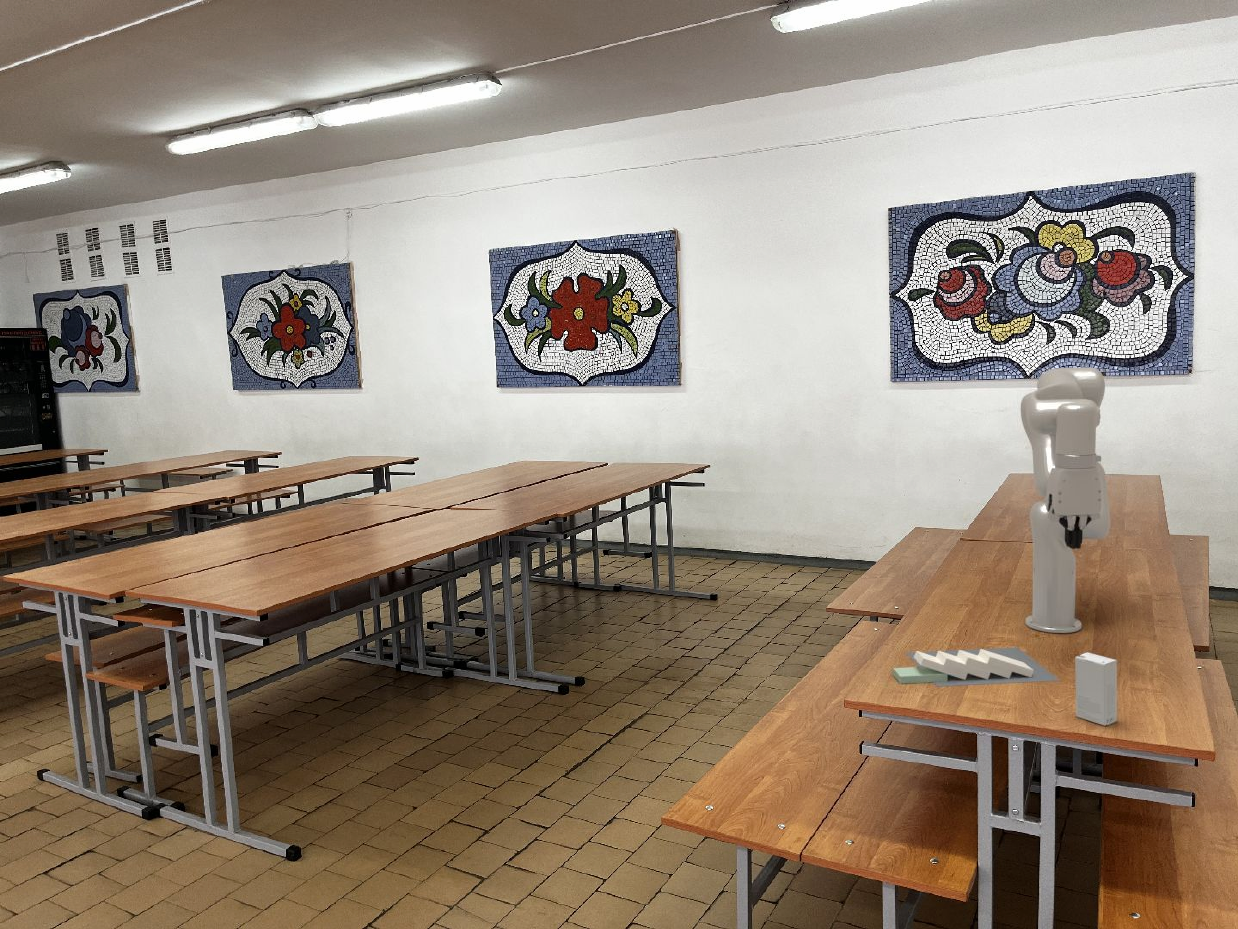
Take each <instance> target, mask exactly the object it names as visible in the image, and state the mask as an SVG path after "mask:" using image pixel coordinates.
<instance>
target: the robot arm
mask: <svg viewBox="0 0 1238 929" xmlns="http://www.w3.org/2000/svg"><path fill="white" fill-rule="evenodd" d="M1105 388H1106V383H1105V378H1104V374H1102V372H1101V371H1100V370H1099V369H1097V368H1095V367H1090V366H1089V367H1088V366H1087V367H1056V368H1051V369H1048V370H1046V371H1044V372H1043V373H1042V374H1040V376H1039V378H1038V379H1037V383H1036V390H1034V391H1032V392H1029V393H1027V394H1025V395H1024V396H1023V397H1022V399H1021V402H1020V418H1021V423H1022V426H1023V429H1024V431H1025V434H1026V437H1027V439H1028V441H1029V443H1030V445H1031V451H1032V466H1033V467H1032V468H1033V480H1034V487H1035V490H1036V492H1037V494H1038V495H1039V496H1041V497H1044V498H1045V499H1043V500H1039V501H1037V502H1036V503H1034V504H1033V505H1032V506H1031V508H1030V511H1029V522H1030V528H1031V535H1032V537H1031V538H1032V551H1033V553H1032V558H1033V559H1032V566H1033V567H1032V613H1031V615H1028V616H1027V617H1025V625H1026V626H1027V627H1028V628H1030V629H1033V630H1036V631H1038V632H1039V631H1040V632H1045V633H1053V634H1070V633H1074V632H1078V631H1079V630H1081V629H1082V622H1081V621H1080V620H1079V619H1078V618H1075V617H1076V614H1075V612H1076V574H1077V571H1076V570H1077V566H1076V565H1077V559H1076V555H1075V553H1074V551H1073V550H1076V549H1077V550H1078V549H1082V544H1083V540H1102V539H1105V538H1107V536H1108V535H1109V533H1110V530H1111V515H1110V505H1109V494H1108V486H1107V483H1108V482H1107V476H1106V471H1105V469H1104V467H1103V465H1102V464H1101V462H1102V456H1101V455H1097V453H1096V443H1097V442H1096V440H1097V439H1096V438H1097V436H1096V435H1097V433H1096V432H1097V427H1099V425H1100V422H1101V409H1100V408H1101V405H1102V402H1103V401H1104V400H1103V399H1104V397H1105V391H1106V389H1105Z"/></svg>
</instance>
